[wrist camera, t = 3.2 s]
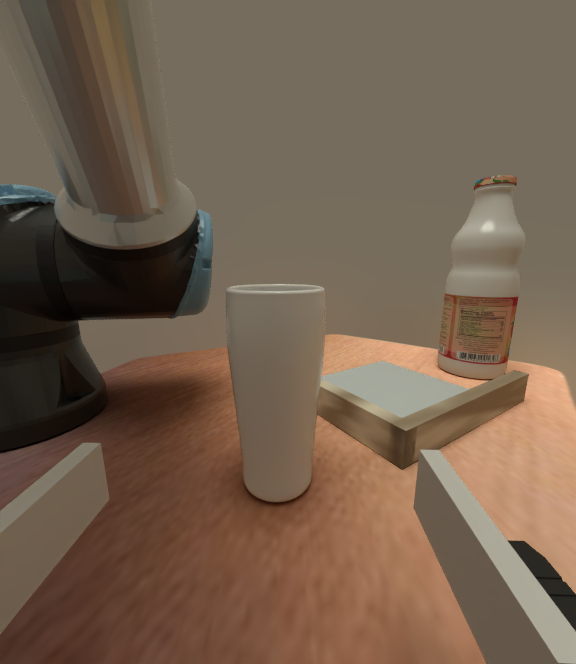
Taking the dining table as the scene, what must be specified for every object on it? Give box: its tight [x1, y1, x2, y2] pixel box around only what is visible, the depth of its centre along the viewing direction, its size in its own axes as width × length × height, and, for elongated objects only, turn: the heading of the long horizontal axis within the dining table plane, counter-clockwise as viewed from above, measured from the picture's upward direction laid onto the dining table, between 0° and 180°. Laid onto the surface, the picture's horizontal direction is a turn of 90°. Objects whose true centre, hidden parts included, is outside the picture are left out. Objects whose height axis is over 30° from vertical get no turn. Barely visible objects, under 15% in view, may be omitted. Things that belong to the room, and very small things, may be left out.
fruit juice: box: [438, 175, 526, 379], centre depth 45 cm, size 9×9×28 cm
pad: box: [321, 361, 469, 418], centre depth 41 cm, size 16×16×1 cm
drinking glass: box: [226, 284, 325, 502], centre depth 22 cm, size 7×7×15 cm
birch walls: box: [317, 370, 529, 469], centre depth 37 cm, size 14×24×4 cm, turn 123°
